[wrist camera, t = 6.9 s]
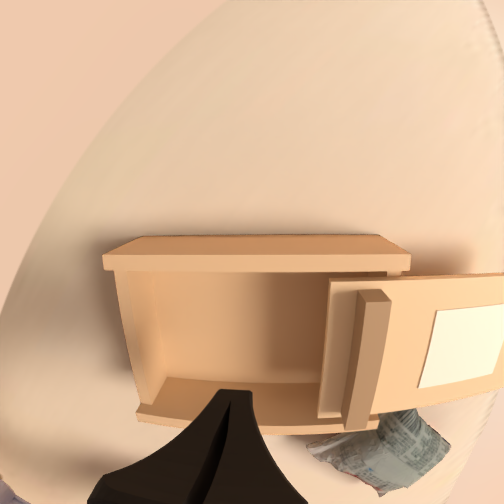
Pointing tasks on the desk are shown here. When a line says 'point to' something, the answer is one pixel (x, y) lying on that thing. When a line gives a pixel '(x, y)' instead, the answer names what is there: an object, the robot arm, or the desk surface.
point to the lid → (409, 343)
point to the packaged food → (385, 451)
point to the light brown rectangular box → (238, 320)
